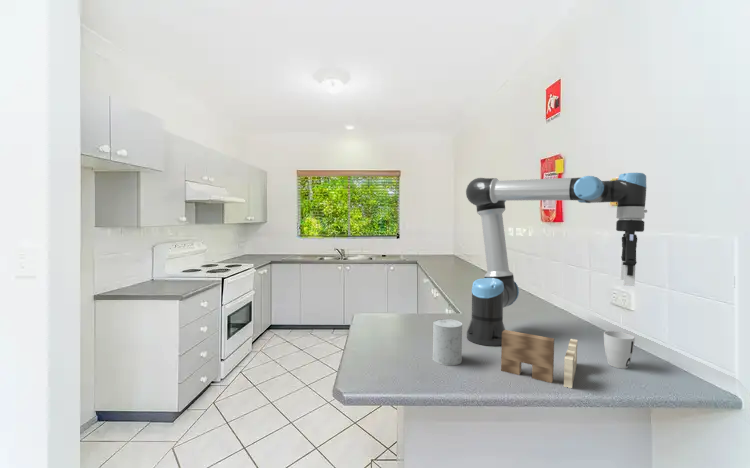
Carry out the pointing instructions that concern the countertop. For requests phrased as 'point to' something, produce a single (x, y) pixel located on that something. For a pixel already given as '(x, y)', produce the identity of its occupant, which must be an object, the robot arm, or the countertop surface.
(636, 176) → the robot arm
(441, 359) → the grey stone cylinder
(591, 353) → the countertop surface
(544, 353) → the brown wooden board
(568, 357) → the maple plate
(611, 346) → the cup
